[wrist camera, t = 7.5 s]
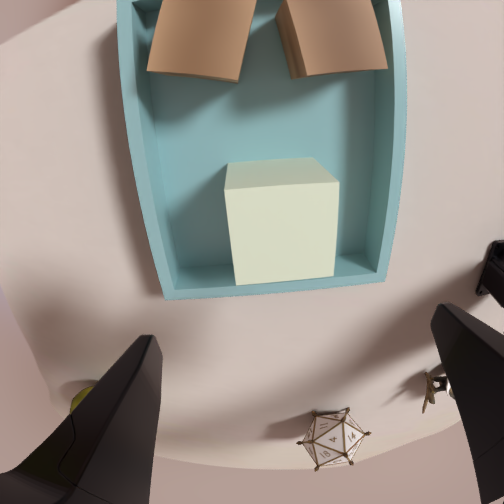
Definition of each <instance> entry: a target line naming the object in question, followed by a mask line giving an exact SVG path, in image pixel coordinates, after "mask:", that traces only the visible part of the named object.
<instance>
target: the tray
mask: <svg viewBox="0 0 504 504" xmlns="http://www.w3.org/2000/svg"><path fill="white" fill-rule="evenodd" d="M162 2H163V0H117V36H118V54H119V68H120V79H121V89H122V98H123V106H124V114H125V122H126V129H127V135H128V142H129V148H130V154H131V160H132V165H133V171H134V176H135V181H136V186H137V191H138V196H139V201H140V205H141V210H142V214H143V219H144V223H145V227H146V232H147V236H148V240H149V244H150V248H151V252H152V255H153V259H154V263H155V267H156V270H157V274H158V277H159V281H160V284H161V288H162V291H163V295H164V298H165V300H182V299H200V298H217V297H232V296H246V295H259V294H271V293H283V292H294V291H305V290H315V289H325V288H334V287H343V286H352V285H361V284H369V283H377V282H385V278H386V274H387V269H388V265H389V260H390V255H391V250H392V245H393V239H394V234H395V228H396V222H397V215H398V208H399V201H400V194H401V185H402V176H403V166H404V155H405V140H406V119H407V71H406V50H405V37H404V26H403V17H402V9H401V2H400V0H371V3H372V7H373V10H374V13H375V17H376V20H377V24H378V27H379V31H380V35H381V39H382V43H383V47H384V52H385V56H386V61H387V66H388V69H380V70H369V71H360V72H349V73H338V74H329V75H320V76H313V77H306V78H299V79H293V80H291V77H290V73H289V69H288V65H287V61H286V57H285V53H284V49H283V46H282V42H281V38H280V35H279V31H278V28H277V24H276V21H275V16H276V14H277V12H278V10H279V8H280V6H281V4H282V2H283V0H257V1H256V6H255V10H254V15H253V20H252V24H251V28H250V33H249V37H248V41H247V45H246V49H245V54H244V58H243V63H242V67H241V72H240V76H239V81H238V84H235V83H229V82H222V81H215V80H207V79H199V78H190V77H179V76H167V75H163V74H158V73H154V72H149V71H147V66H148V60H149V55H150V50H151V46H152V41H153V37H154V32H155V28H156V24H157V20H158V16H159V12H160V9H161V5H162ZM309 157H313V158H314V159H315V160H316V161H317V162H318V163H320V164H321V165H322V166H323V167H324V168H325V169H326V170H327V171H328V172H329V173H330V174H331V175H332V176H333V177H335V178H336V179H337V180H338V181H339V206H338V224H337V240H336V253H335V264H334V275H333V276H330V277H321V278H311V279H302V280H292V281H281V282H271V283H260V284H248V285H237V286H236V281H235V273H234V265H233V258H232V250H231V242H230V234H229V226H228V218H227V210H226V201H225V193H224V188H225V180H226V173H227V166H228V163H234V162H245V161H257V160H271V159H288V158H309Z"/></svg>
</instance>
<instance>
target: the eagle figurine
mask: <svg viewBox="0 0 504 504" xmlns="http://www.w3.org/2000/svg"><path fill="white" fill-rule="evenodd" d="M425 375H426V378H427V392H426V397H425V400H424V404H423V409H422V413H424V412H425V409H426V406H427V403H428V400H429V402H430V403H431V404H435V398H434V394H435V393H436V392H440V391H446V393H447V395H448V392H449V394H450V396H451V397H452V398H453V399H455V398H454V395H453V392H452V389H451V387H450V384H449V381H448V379H447V376H443V377H441V376H440V377H434V378H432V377H431V375H430V374H429V373H427V372H425ZM434 381H435V382H439V384H440V386H439V387H437V388H435V386H434V385H433V383H434ZM433 393H434V394H433Z"/></svg>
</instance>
